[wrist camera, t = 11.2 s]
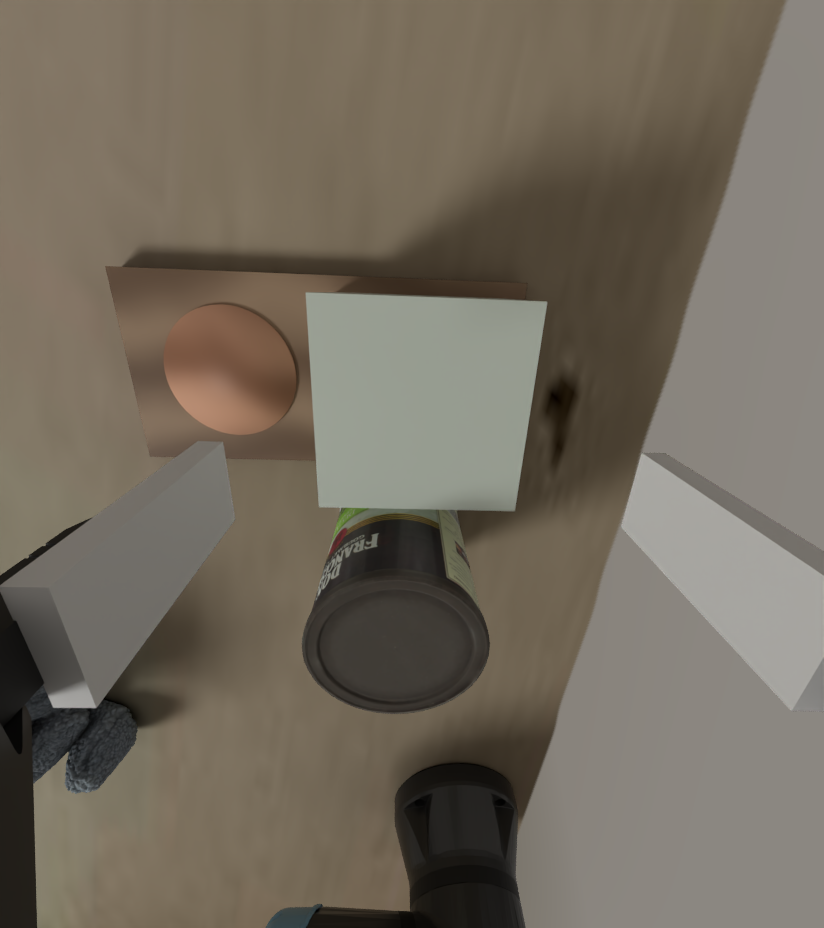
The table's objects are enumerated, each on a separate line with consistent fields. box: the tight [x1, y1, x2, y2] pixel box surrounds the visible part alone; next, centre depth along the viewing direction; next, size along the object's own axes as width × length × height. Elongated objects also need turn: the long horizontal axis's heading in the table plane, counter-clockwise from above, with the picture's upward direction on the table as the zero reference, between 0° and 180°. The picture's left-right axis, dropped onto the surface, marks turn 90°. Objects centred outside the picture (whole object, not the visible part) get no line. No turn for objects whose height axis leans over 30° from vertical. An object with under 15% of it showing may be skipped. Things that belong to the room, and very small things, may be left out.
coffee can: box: [302, 508, 490, 714], centre depth 29 cm, size 10×10×14 cm
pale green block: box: [306, 292, 547, 511], centre depth 25 cm, size 11×11×9 cm
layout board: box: [105, 266, 527, 461], centre depth 29 cm, size 13×27×2 cm, turn 88°
